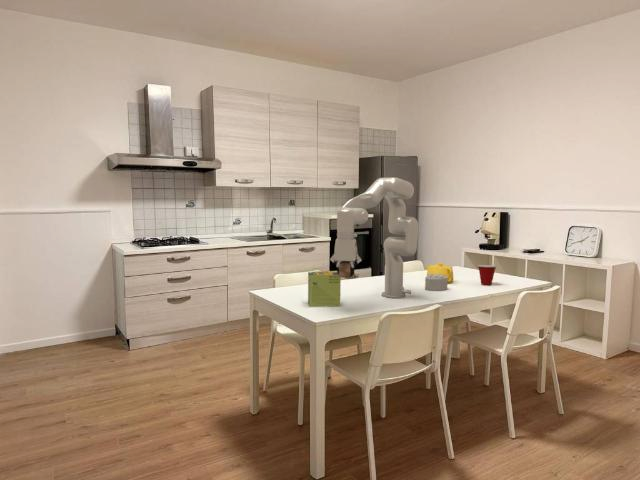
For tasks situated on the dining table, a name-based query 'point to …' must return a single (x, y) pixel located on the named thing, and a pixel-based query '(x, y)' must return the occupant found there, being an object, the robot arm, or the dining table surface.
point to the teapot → (441, 271)
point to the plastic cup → (486, 274)
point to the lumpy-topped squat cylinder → (435, 282)
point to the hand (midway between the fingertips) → (345, 275)
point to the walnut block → (344, 270)
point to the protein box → (324, 288)
